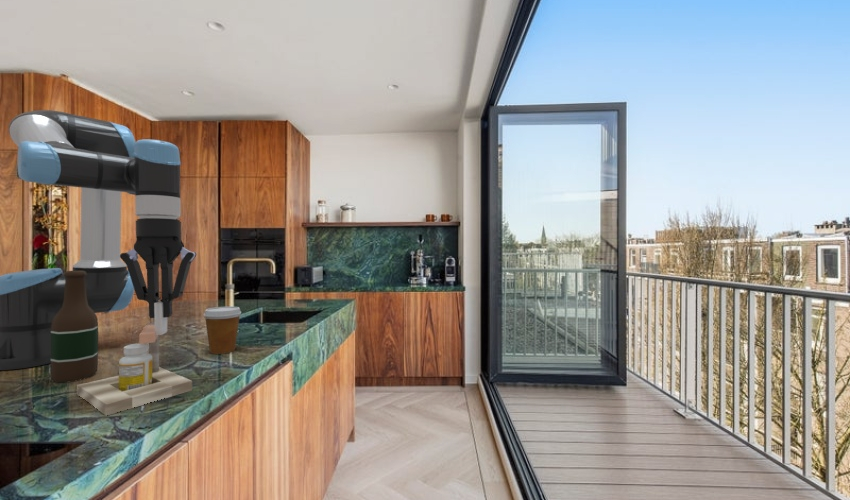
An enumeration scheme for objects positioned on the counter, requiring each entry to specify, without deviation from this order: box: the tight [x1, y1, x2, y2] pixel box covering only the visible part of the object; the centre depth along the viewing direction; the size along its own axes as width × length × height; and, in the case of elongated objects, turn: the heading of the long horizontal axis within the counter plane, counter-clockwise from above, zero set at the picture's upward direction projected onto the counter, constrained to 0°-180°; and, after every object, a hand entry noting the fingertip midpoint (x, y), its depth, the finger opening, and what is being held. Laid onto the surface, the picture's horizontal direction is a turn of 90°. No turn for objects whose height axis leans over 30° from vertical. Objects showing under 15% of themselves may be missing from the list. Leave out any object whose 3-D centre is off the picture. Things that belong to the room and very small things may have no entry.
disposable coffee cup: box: [203, 306, 242, 355], centre depth 105 cm, size 10×10×12 cm
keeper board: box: [76, 335, 193, 417], centre depth 75 cm, size 16×14×10 cm
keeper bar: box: [138, 322, 158, 344], centre depth 78 cm, size 12×3×2 cm, turn 30°
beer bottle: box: [50, 270, 99, 383], centre depth 83 cm, size 8×8×24 cm
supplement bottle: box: [118, 342, 152, 392], centre depth 75 cm, size 5×5×10 cm
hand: (161, 333), depth 76 cm, fingers closed
